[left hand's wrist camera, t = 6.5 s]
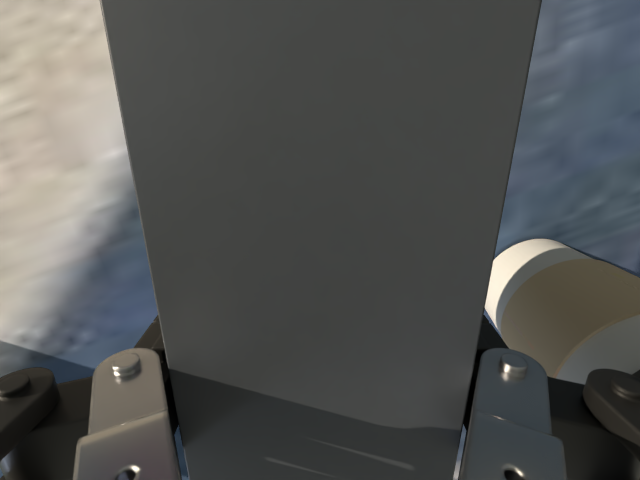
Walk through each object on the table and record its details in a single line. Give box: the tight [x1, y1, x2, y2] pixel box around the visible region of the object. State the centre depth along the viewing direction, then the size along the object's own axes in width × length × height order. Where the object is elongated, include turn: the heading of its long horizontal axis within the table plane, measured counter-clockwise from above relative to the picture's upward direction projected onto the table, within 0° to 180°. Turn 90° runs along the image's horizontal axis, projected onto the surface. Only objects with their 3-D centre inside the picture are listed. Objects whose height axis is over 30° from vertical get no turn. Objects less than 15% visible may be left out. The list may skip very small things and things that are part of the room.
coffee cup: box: [485, 239, 640, 385], centre depth 19 cm, size 9×9×15 cm
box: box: [100, 0, 542, 480], centre depth 10 cm, size 20×6×10 cm, turn 0°
